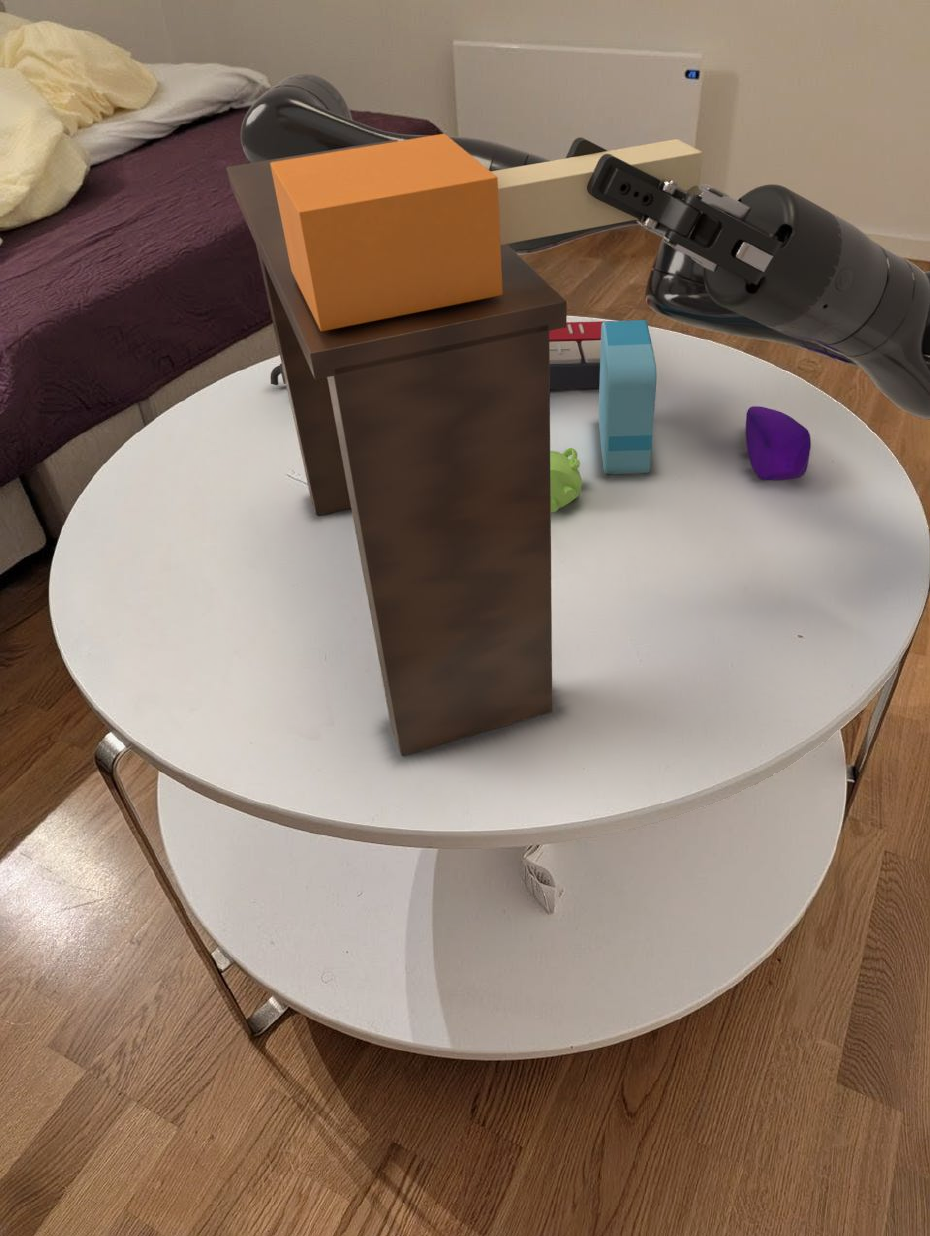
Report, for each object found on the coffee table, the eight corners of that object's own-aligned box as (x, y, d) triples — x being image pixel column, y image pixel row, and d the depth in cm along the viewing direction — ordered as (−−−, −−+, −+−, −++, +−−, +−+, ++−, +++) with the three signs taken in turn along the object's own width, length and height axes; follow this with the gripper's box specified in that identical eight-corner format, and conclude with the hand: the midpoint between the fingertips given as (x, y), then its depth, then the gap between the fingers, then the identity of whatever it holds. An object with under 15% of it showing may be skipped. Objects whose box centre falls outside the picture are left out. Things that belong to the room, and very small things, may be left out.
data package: (649, 479, 93) (657, 369, 85) (604, 480, 93) (608, 371, 85) (639, 418, 101) (646, 314, 94) (598, 420, 102) (601, 316, 94)
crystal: (776, 385, 97) (825, 446, 85) (770, 428, 100) (817, 493, 88) (730, 389, 97) (773, 450, 85) (726, 432, 100) (767, 497, 88)
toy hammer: (649, 204, 58) (655, 98, 54) (721, 251, 52) (734, 135, 48) (291, 271, 54) (269, 162, 50) (320, 332, 47) (298, 211, 43)
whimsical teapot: (581, 486, 92) (582, 436, 89) (585, 517, 88) (586, 466, 85) (519, 489, 93) (517, 439, 89) (520, 520, 89) (519, 470, 85)
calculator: (632, 357, 105) (500, 361, 104) (628, 392, 107) (500, 395, 107) (617, 317, 113) (495, 320, 113) (614, 350, 116) (495, 353, 115)
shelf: (432, 472, 96) (396, 139, 75) (564, 708, 70) (567, 301, 49) (301, 502, 94) (226, 166, 72) (388, 760, 68) (309, 353, 46)
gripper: (824, 368, 56) (601, 273, 47) (709, 285, 66) (509, 195, 58) (903, 249, 52) (678, 123, 44) (769, 181, 62) (564, 68, 54)
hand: (583, 164), depth 51 cm, fingers closed on toy hammer, 3 cm apart
